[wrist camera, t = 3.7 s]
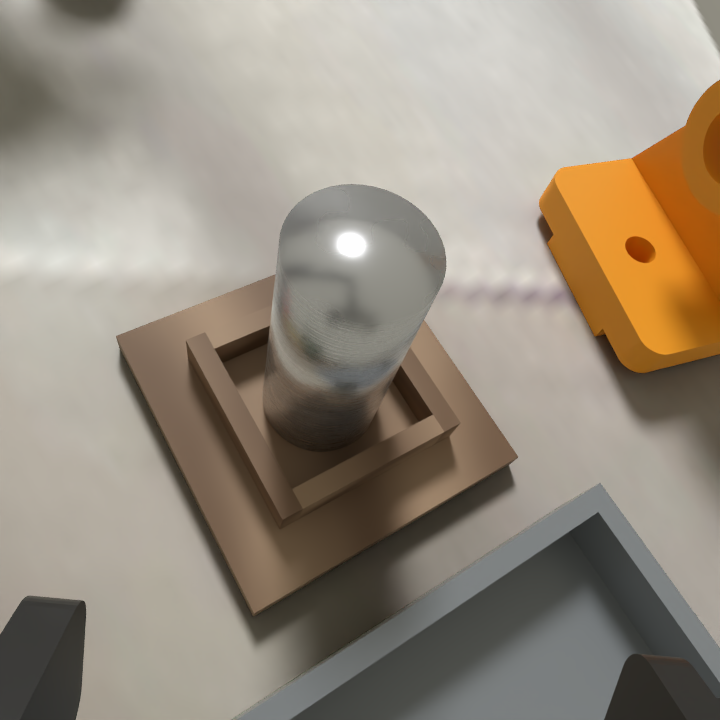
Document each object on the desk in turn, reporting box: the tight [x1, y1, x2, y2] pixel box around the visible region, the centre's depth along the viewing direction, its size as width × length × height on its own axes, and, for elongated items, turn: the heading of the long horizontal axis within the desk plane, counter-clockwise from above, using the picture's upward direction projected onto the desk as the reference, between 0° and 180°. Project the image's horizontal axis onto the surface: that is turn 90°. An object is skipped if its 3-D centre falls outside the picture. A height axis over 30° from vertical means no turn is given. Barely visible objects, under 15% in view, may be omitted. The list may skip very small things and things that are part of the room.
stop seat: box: [116, 274, 518, 617], centre depth 26 cm, size 12×12×2 cm
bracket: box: [539, 80, 720, 373], centre depth 29 cm, size 11×7×12 cm, turn 18°
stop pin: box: [262, 184, 446, 452], centre depth 22 cm, size 5×5×10 cm
